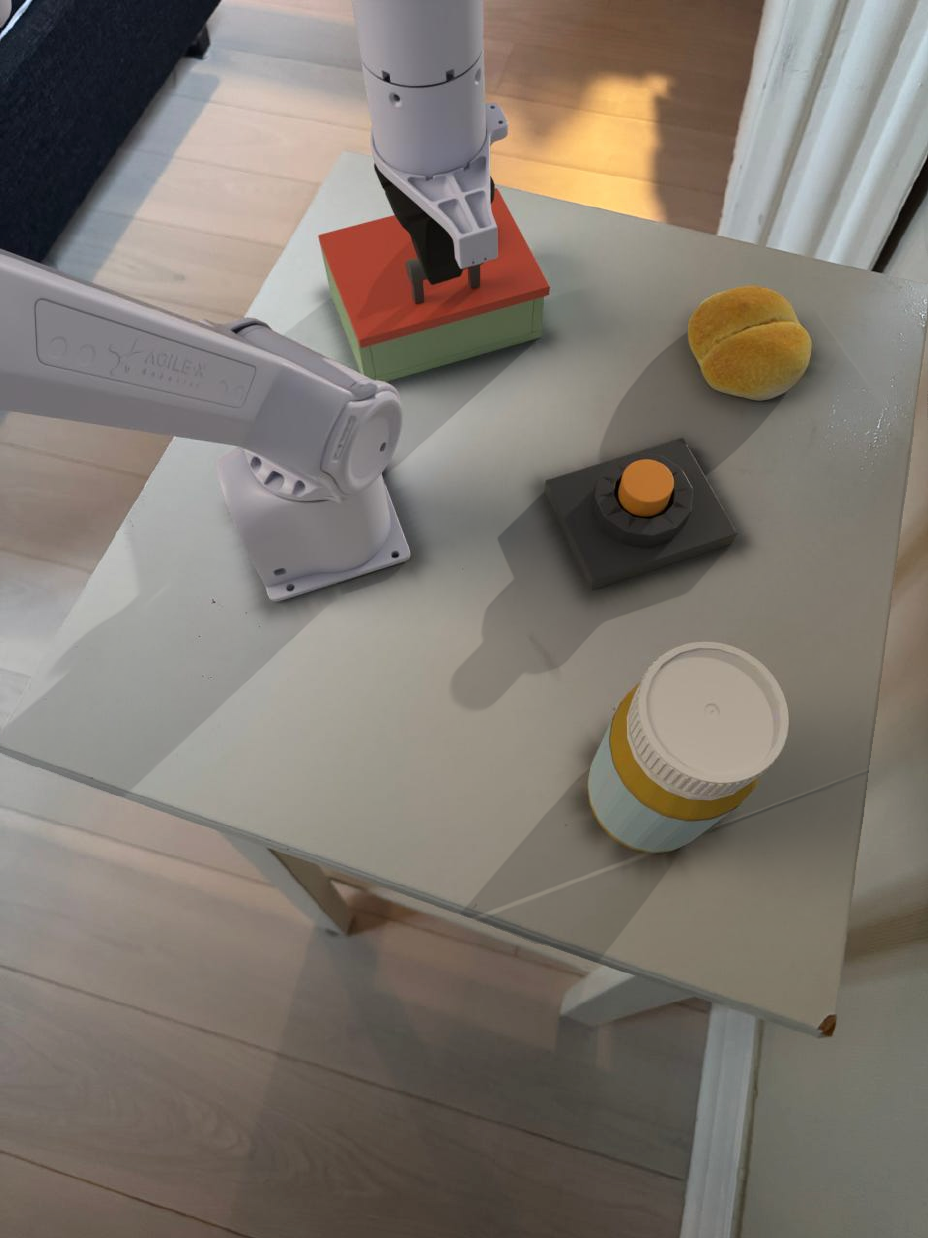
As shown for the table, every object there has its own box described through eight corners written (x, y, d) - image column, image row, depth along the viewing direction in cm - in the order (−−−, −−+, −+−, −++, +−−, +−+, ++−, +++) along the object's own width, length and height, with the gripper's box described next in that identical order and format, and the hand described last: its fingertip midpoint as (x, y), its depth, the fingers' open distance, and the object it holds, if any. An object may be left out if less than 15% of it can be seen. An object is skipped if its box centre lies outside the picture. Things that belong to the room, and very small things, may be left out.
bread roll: (717, 417, 58) (732, 378, 55) (671, 324, 62) (683, 282, 58) (825, 391, 59) (848, 351, 55) (774, 300, 63) (792, 258, 59)
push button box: (590, 591, 53) (596, 569, 50) (544, 491, 56) (547, 465, 53) (731, 544, 54) (745, 520, 51) (678, 449, 57) (688, 422, 55)
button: (630, 523, 52) (635, 508, 50) (609, 483, 53) (613, 467, 52) (677, 508, 52) (683, 493, 51) (655, 468, 54) (660, 452, 52)
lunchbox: (541, 337, 62) (545, 287, 57) (366, 388, 60) (357, 340, 56) (496, 250, 66) (497, 197, 61) (331, 295, 64) (319, 244, 60)
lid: (549, 295, 57) (554, 247, 53) (360, 348, 55) (351, 303, 52) (497, 196, 61) (498, 146, 57) (319, 243, 60) (309, 194, 56)
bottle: (622, 876, 46) (681, 823, 32) (565, 762, 48) (597, 668, 35) (731, 824, 47) (834, 752, 33) (670, 715, 49) (742, 607, 36)
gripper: (562, 123, 36) (548, 341, 48) (452, -66, 41) (465, 174, 54) (407, 169, 35) (433, 377, 48) (315, -29, 40) (361, 205, 53)
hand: (442, 272), depth 50 cm, fingers closed
